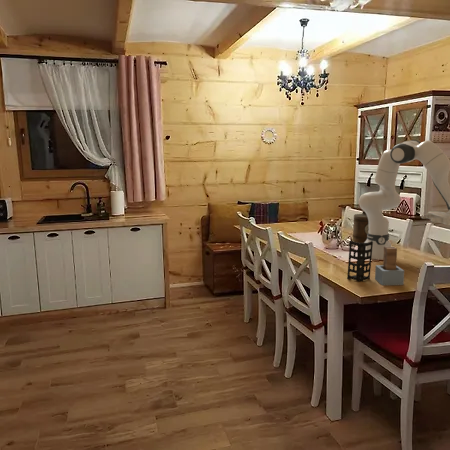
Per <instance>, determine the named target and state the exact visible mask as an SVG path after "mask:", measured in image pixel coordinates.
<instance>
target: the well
mask: <svg viewBox="0 0 450 450" xmlns="http://www.w3.org/2000/svg"><path fill="white" fill-rule="evenodd" d="M374 268H375V271H374V272H375V273H374V279H375V281H377V282H378V283H379V284H380V285H381V286H403V285H404V281H405V270H404V269H402V268H401V267H400V266H398V265H397V264H396V270H384V269H383V264H381V265H379V264H378V265H377V264H375V267H374Z"/></svg>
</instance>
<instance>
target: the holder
mask: <svg viewBox="0 0 450 450" xmlns="http://www.w3.org/2000/svg"><path fill="white" fill-rule="evenodd" d="M369 245H371V249H369V250H365V249H366V246H369ZM352 246H356V247H357V249H354V248H352ZM372 247H373V241H371V242H368V243H359V242H355V241H353V240H349V248H348V249H349V251H348V264H347V276H346V277H347V280H349V279H350V280H353V281H356V282H361V281H362V282H364V281H366V280H370V278H371V268H372V259H371V258H372ZM352 252H353V255H352ZM369 252H370V256H368V255H369ZM365 253H367V257H365ZM361 254H362V256H361ZM356 255H357V256H356ZM352 260H356V263H354V262H352ZM366 260H369V262H367V263H366ZM351 266H352V268H351ZM351 273H353V274H354V273H355V274H356V275H355V274H354V275H350V274H351ZM366 273H367V274H368V275H367V276H366V275H365V274H366Z"/></svg>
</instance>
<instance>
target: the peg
mask: <svg viewBox="0 0 450 450" xmlns="http://www.w3.org/2000/svg"><path fill="white" fill-rule="evenodd" d="M397 256H398V249H397V247H395V246H393V245H391V247H384V258H383V259H382V260H383V261H382V263H383V264H382V265H383V269H384V270H396V265H397Z"/></svg>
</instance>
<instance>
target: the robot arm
mask: <svg viewBox="0 0 450 450" xmlns="http://www.w3.org/2000/svg"><path fill="white" fill-rule="evenodd" d="M415 160H417V161H419V162H421V165H423V167H425V169H426V171H427V173H428V174H429V176H430V177H431V182H432V184H433V185H434V187H435V188H436V190H437V191H438V193H439V195H440V196H441V197H442V199H443V201H444V203H445V205H446V208H447V210H448V211H446V212H445V211H427V213H425V214H421V219H423V220H425V219H426V220H428V219H429V220H430V222H432V223H439V224H443V225H445V226H449V227H450V183H449V176H450V175H449V174H450V159H449V156H447V154H446V153H445V152H444V150H443V149H441V148H440V147H439V146H438V144H436V143H434V142H433V141H431V140H425V141H422V142H421V141H419V140H417V139H415V140H414V139H411V140H407V141H406V140H405V141H403V142H400V143H398V144H396V145H394V146H393V147H392V148H391V149H386V150H384V151H383V153H382V154H381V157H380V159H379V161H378V165H377V168H376V171H375V172H376V173H375V176H374V182H375V183H376V184H377V185H378V186H379V190H378V191H369V192H368V191H367V192H365V193H362V194H361V195H360V196H359V199H358V204H359V208H360V209H361V210H362V211H363V210H364V211H365V213H366V214H367V217H368V221H369V233H368V235H367V240H366V241H365V242H364V243H368V242H371V241H373V247H372V258H371V260H383V258H384V247H391V246H392V242H390V241H389V240H390V233H389V227H390V224H389V223H390V221H389V219H388V218H387V217H385V216H384V215H383V211H386V210H392V209H396V208H398V207H399V206H400V203H401V196H400V194H399V193H398V191H397V190H396V183H397V182H396V181H397V176H398V173H399V169H400V165H401V164H402V165H404V164H407V163H411V162H413V161H415ZM369 249H371V245H369V246H366V249H365V250H369ZM361 256H362V254H361ZM368 256H370V252H369V255H368ZM365 257H367V253H365Z"/></svg>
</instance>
